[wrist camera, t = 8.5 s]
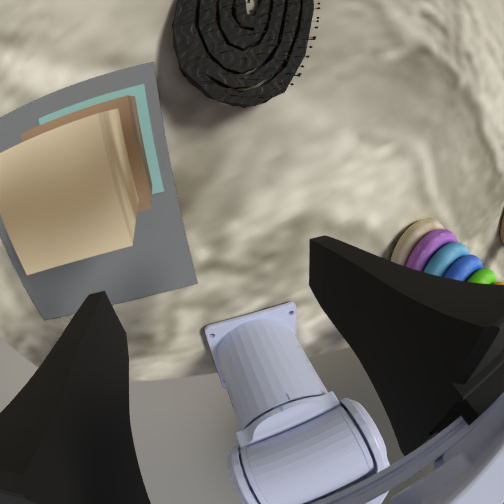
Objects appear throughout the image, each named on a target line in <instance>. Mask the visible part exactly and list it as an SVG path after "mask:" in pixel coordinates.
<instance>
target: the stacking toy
mask: <svg viewBox="0 0 504 504" xmlns="http://www.w3.org/2000/svg"><path fill="white" fill-rule="evenodd" d="M391 261H392V262H394V263H397V264H400V265H402V266H405V267H408V268H411V269H415V270H418V271H422V272H425V273H429V274H432V275H436V276H440V277H445V278H450V279H455V280H460V281H466V282H474V283H482V284H496V285H504V283H503V282H496V276H495V274H494V272H493V271H491V270H490V269H487V268H483V265H482V262H481V261H480V259H479V258H478V257H476V256H474V255H470V253H469V251H468V249H467V247H466V246H465V245H463V244H462V243H459V242H458V241H457V239H456V237H455V235H454V234H453V233H452V232H451V231H449V230H447V229H444V228H443V226H442V225H441V224H440V223H439V222H438V221H436V220H434V219H423V220H419V221H417V222H416V223H414V224H413V225H411V226H410V227H409V228H408V229H407V230H406V231H405V232H404V233H403V235H402V236H401V237H400V239H399V241H398V242H397V244H396V246H395V248H394V251H393V253H392V257H391Z"/></svg>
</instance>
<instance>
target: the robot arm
mask: <svg viewBox="0 0 504 504" xmlns="http://www.w3.org/2000/svg"><path fill="white" fill-rule="evenodd" d="M309 286H310V288H311V290H312V292H313V293H314V295H315V297H316V299H317V301H318V302H319V304H320V306H321V308H322V309H323V310H324V312H325V313H326V314H327V316H328V317H329V319H330V320H331V321H332V323H333V324H334V325H335V327H336V328H337V329H338V331H339V332H340V333H341V335H342V336H343V337H344V339H345V340H346V341H347V343H348V344H349V345H350V347H351V348H352V349H353V351H354V352H355V354H356V355H357V357H358V358H359V360H360V362H361V363H362V365H363V367H364V369H365V371H366V372H367V374H368V376H369V378H370V380H371V382H372V384H373V385H374V388H375V390H376V392H377V394H378V396H379V398H380V400H381V402H382V404H383V406H384V408H385V411H386V413H387V415H388V417H389V420H390V422H391V425H392V427H393V430H394V432H395V435H396V438H397V441H398V444H399V447H400V449H401V451H402V453H403V454H404V456H405V457H403V458H402V459H400V460H399V461H397V462H395V463H394V464H392V465H389V462H388V459H387V452H386V447H385V444H384V442H383V439H382V437H381V435H380V433H379V431H378V429H377V427H376V425H375V423H374V422H373V420H372V418H371V417H370V416H369V414H368V413H367V411H366V410H365V409H364V408H363V406H362V405H361V404H359V403H358V402H357V401H353V400H350V399H348V398H344V399H342V400H340V401H338V400H337V398H336V396H335V394H334V393H333V392H332V391H331V392H329V393H328V392H327V390H326V389H325V387H324V385H323V384H322V382H321V380H320V378H319V377H318V375H317V373H316V371H315V370H314V368H313V366H312V364H311V363H310V361H309V359H308V358H307V356H306V354H305V352H304V351H303V349H302V347H301V345H300V344H299V342H298V340H297V339H296V305H295V304H294V303H293V302H288V303H285V304H282V305H278V306H275V307H271V308H268V309H265V310H261V311H258V312H254V313H251V314H247V315H244V316H240V317H236V318H233V319H229V320H225V321H222V322H218V323H214V324H210V325H207V326H206V327H205V329H204V331H205V334H206V338H207V341H208V344H209V347H210V350H211V353H212V356H213V359H214V362H215V366H216V369H217V371H218V374H219V377H220V380H221V383H222V386H223V388H227V390H228V393H229V396H230V400H231V403H232V406H233V409H234V412H235V415H236V418H237V420H238V424H239V427H240V429H241V431H239V432H237V433H236V436H237V440H238V442H239V445H236V446H234V447H232V449H231V452H230V455H229V457H228V470H229V474H230V478H231V481H232V484H233V486H234V489H235V491H236V493H237V495H238V497H239V498H240V500H241V502H242V503H243V504H381V503H382V501H383V500H384V498H385V497H386V495H387V493H388V492H389V490H391V489H392V488H394V487H396V486H397V485H399V484H401V483H402V482H404V481H405V480H407V479H408V478H410V477H411V476H413V475H414V474H416V473H417V472H419V471H420V470H422V469H423V468H425V467H426V466H428V465H429V464H430V463H432V462H433V461H435V463H434V469H433V470H432V472H430V473H429V474H427V475H426V476H424V477H423V478H421V479H420V480H418V481H417V482H415V483H414V484H412V485H411V486H409V487H408V488H406V489H405V490H403V491H401V492H400V493H398V494H397V495H395V496H393V497H392V498H391V501H392V503H393V504H502V503H503V502H504V285H496V284H482V283H474V282H466V281H460V280H455V279H450V278H445V277H440V276H436V275H432V274H429V273H425V272H422V271H418V270H415V269H411V268H408V267H405V266H402V265H400V264H397V263H394V262H392V261H389V260H386V259H384V258H381V257H378V256H376V255H374V254H371V253H369V252H366V251H364V250H361V249H359V248H357V247H354V246H352V245H349V244H347V243H345V242H342V241H340V240H337V239H334V238H331V237H328V236H321V237H317V238H313V239H310V263H309ZM290 311H291V312H290ZM210 334H212V335H210ZM0 504H151V503H150V500H149V498H148V495H147V492H146V489H145V486H144V483H143V479H142V476H141V472H140V469H139V465H138V461H137V457H136V452H135V448H134V443H133V437H132V432H131V426H130V415H129V356H128V346H127V337H126V332H125V330H124V328H123V327H122V325H121V323H120V321H119V319H118V317H117V315H116V313H115V311H114V309H113V307H112V305H111V303H110V301H109V298H108V296H107V294H106V292H105V291H101V292H97V293H93V294H89V295H88V297H87V298H86V299H85V300H84V302H83V303H82V305H81V306H80V308H79V309H78V311H77V312H76V314H75V315H74V317H73V318H72V320H71V321H70V323H69V324H68V326H67V327H66V329H65V330H64V332H63V334H62V335H61V337H60V338H59V340H58V341H57V342H56V344H55V345H54V347H53V348H52V350H51V351H50V353H49V354H48V356H47V357H46V359H45V360H44V362H43V363H42V364H41V366H40V367H39V368H38V370H37V371H36V372H35V374H34V375H33V376H32V377H31V379H30V380H29V381H28V383H27V384H26V385H25V386H24V387H23V389H22V390H21V391H20V392H19V393H18V394H17V395H16V397H15V398H14V399H13V400H12V401H11V402H10V404H9V405H8V406H7V407H6V408H5V409H4V410H3V411H2V412H1V413H0Z"/></svg>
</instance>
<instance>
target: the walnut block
mask: <svg viewBox="0 0 504 504" xmlns="http://www.w3.org/2000/svg"><path fill="white" fill-rule="evenodd" d="M113 109H119V114H120V120H121V125H122V130H123V135H124V140H125V145H126V150H127V154H128V159H129V163H130V167H131V172H132V176H133V180H134V184H135V188H136V192H137V196H138V200H139V203H138V209H137V212H141V211H144V210H148V209H151V204H152V181H151V176H150V172H149V167H148V163H147V158H146V153H145V148H144V143H143V138H142V133H141V128H140V122H139V117H138V111H137V105H136V99H135V96H129V95H127V96H123V97H119V98H116V99H112V100H109V101H106V102H102V103H99V104H96V105H93V106H90V107H87V108H84V109H81V110H78V111H75V112H72V113H70V114H67V115H64V116H62V117H59V118H57V119H54V120H52V121H49V122H47V123H44V124H42V125H39V126H37V127H35V128H33V129H30V130H28V131H26V132H24V133H22V134H21V139H22V142H24V141H26V140H29V139H31V138H33V137H35V136H38V135H40V134H42V133H45V132H47V131H50V130H52V129H55V128H57V127H60V126H63V125H65V124H68V123H71V122H73V121H76V120H79V119H82V118H85V117H88V116H91V115H94V114H97V113H101V112H105V111H109V110H113Z"/></svg>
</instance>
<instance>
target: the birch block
mask: <svg viewBox="0 0 504 504" xmlns="http://www.w3.org/2000/svg"><path fill="white" fill-rule="evenodd" d="M138 203H139V200H138V196H137V192H136V188H135V184H134V180H133V176H132V172H131V167H130V163H129V159H128V154H127V150H126V145H125V140H124V135H123V130H122V125H121V120H120V114H119V109H113V110H109V111H105V112H101V113H97V114H94V115H91V116H88V117H85V118H82V119H79V120H76V121H73V122H71V123H68V124H65V125H63V126H60V127H57V128H55V129H52V130H50V131H47V132H45V133H42V134H40V135H38V136H35V137H33V138H31V139H29V140H26V141H24V142H22V143H20V144H18V145H16V146H13V147H11V148H9V149H7V150H5V151H3V152H1V153H0V215H1V217H2V220H3V223H4V225H5V228H6V230H7V233H8V235H9V237H10V240H11V242H12V244H13V247H14V249H15V251H16V253H17V255H18V258H19V260H20V262H21V264H22V266H23V268H24V270H25V272H26V274H27V275H30V274H33V273H37V272H40V271H43V270H47V269H50V268H54V267H57V266H60V265H64V264H67V263H71V262H74V261H78V260H82V259H85V258H89V257H92V256H96V255H100V254H103V253H107V252H111V251H115V250H118V249H122V248H126V247H130V246H133V238H134V230H135V223H136V216H137V209H138Z"/></svg>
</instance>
